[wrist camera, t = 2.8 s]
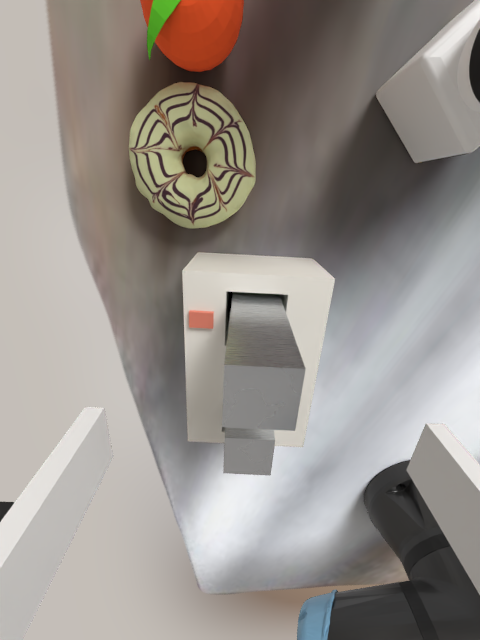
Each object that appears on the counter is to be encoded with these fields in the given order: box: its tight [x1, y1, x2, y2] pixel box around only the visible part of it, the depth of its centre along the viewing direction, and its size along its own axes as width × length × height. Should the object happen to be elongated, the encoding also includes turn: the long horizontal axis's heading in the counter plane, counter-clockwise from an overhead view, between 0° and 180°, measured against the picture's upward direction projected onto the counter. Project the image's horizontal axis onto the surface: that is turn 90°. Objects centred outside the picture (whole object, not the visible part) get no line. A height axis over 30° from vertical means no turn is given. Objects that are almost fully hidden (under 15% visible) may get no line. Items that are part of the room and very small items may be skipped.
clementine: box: [140, 0, 244, 72], centre depth 19 cm, size 8×7×7 cm
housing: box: [182, 252, 335, 447], centre depth 29 cm, size 12×18×8 cm, turn 177°
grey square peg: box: [223, 427, 275, 475], centre depth 29 cm, size 4×4×13 cm
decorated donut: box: [129, 82, 256, 228], centre depth 25 cm, size 10×11×4 cm
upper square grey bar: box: [222, 292, 306, 431], centre depth 23 cm, size 4×4×18 cm
